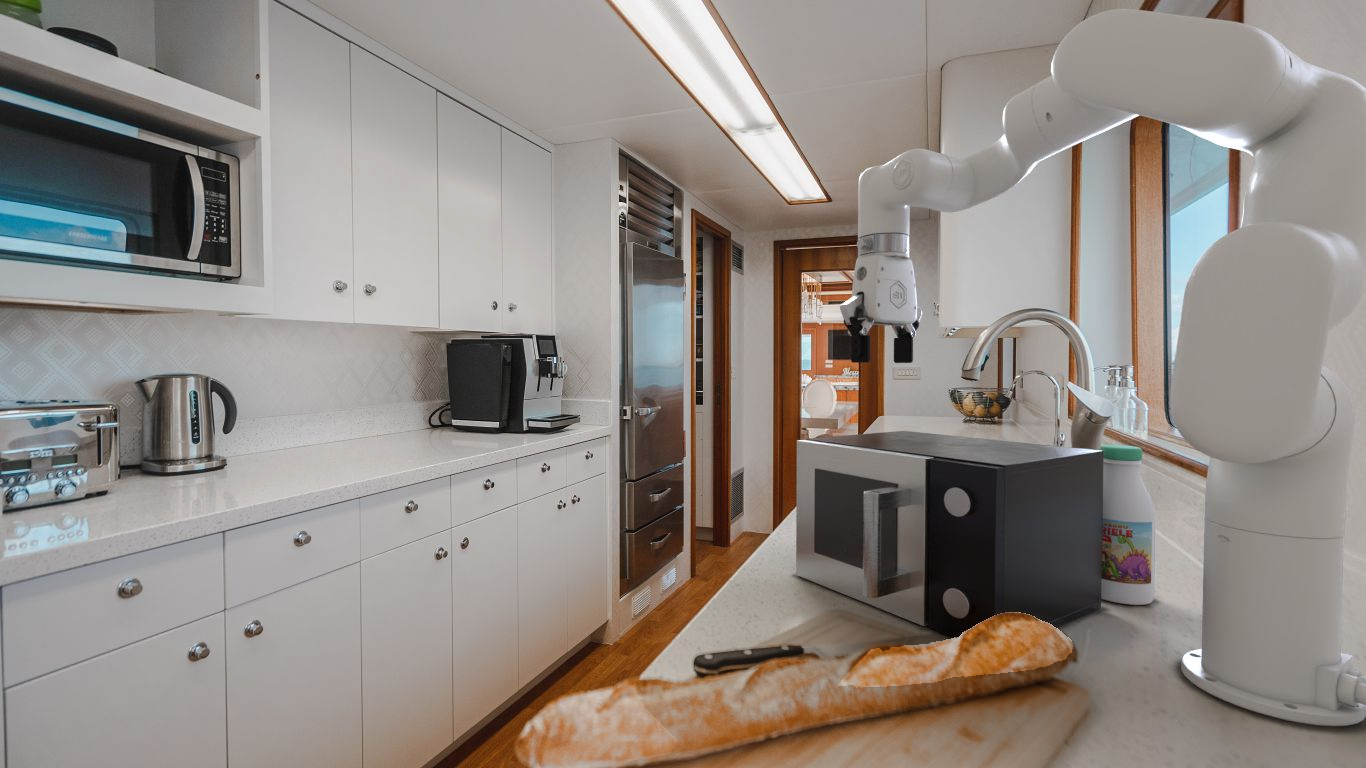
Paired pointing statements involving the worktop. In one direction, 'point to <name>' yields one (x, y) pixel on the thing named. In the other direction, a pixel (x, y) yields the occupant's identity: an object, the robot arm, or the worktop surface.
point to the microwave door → (865, 525)
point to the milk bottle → (1127, 529)
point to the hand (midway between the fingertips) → (882, 362)
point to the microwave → (1006, 526)
